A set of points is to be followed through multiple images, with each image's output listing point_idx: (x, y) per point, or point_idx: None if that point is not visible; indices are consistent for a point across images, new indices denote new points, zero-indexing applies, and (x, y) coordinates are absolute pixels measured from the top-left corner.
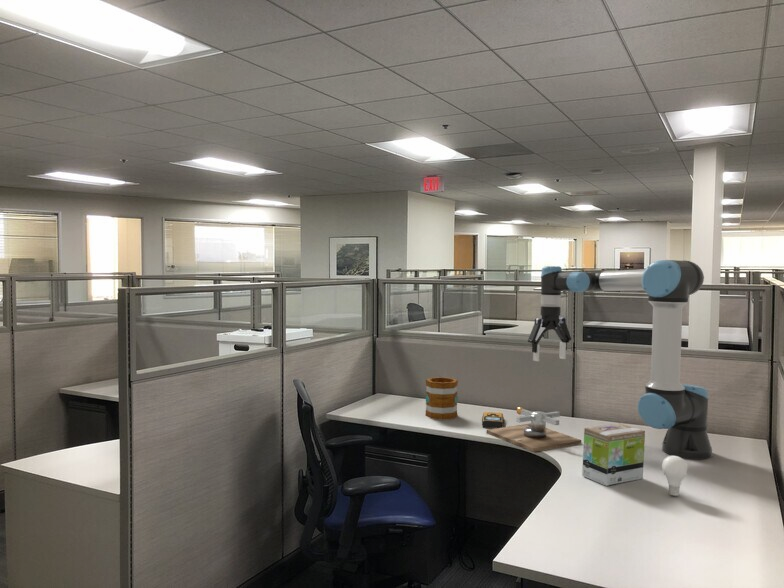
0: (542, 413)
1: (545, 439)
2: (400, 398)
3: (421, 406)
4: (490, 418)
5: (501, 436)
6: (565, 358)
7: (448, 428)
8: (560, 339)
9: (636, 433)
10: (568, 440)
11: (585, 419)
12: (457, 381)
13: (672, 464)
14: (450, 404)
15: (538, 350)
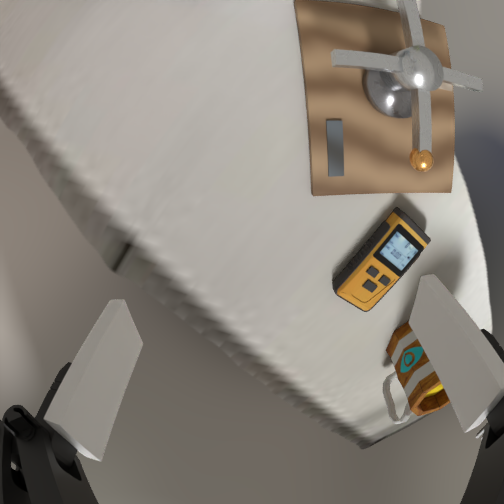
0: (418, 55)
1: (385, 48)
2: (374, 423)
3: (390, 390)
4: (403, 254)
5: (453, 134)
6: (109, 303)
7: (471, 254)
8: (87, 480)
9: None
10: (333, 12)
11: (113, 204)
12: (424, 388)
13: None
14: None
15: (480, 337)
